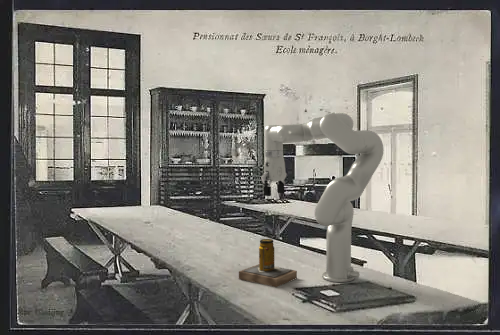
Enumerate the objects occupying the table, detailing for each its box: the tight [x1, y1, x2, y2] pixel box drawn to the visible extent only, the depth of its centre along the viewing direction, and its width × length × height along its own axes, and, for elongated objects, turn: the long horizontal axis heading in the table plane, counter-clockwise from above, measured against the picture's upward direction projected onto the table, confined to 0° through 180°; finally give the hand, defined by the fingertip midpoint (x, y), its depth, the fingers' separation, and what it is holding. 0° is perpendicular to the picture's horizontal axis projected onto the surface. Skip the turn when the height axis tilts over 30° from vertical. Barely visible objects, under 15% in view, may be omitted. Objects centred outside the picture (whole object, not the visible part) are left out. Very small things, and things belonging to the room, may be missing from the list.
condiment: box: [258, 238, 281, 272], centre depth 219 cm, size 7×8×12 cm
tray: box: [238, 263, 298, 288], centre depth 220 cm, size 18×14×3 cm
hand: (274, 194), depth 238 cm, fingers open, 9 cm apart
